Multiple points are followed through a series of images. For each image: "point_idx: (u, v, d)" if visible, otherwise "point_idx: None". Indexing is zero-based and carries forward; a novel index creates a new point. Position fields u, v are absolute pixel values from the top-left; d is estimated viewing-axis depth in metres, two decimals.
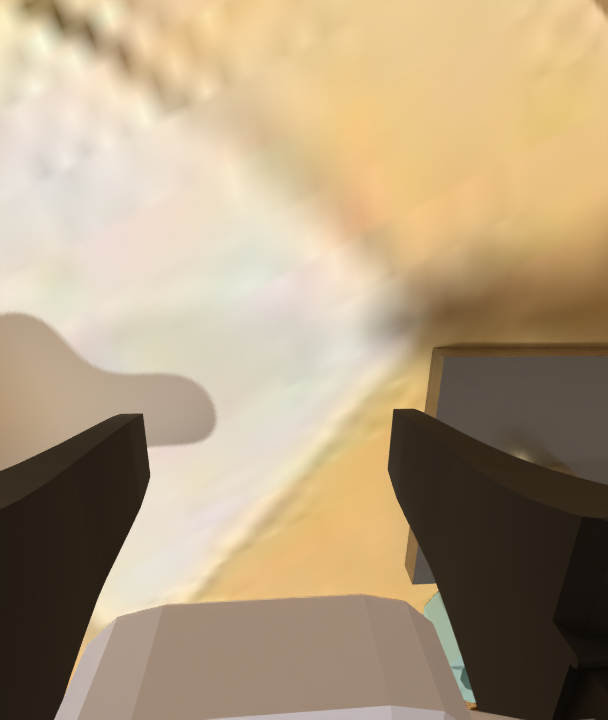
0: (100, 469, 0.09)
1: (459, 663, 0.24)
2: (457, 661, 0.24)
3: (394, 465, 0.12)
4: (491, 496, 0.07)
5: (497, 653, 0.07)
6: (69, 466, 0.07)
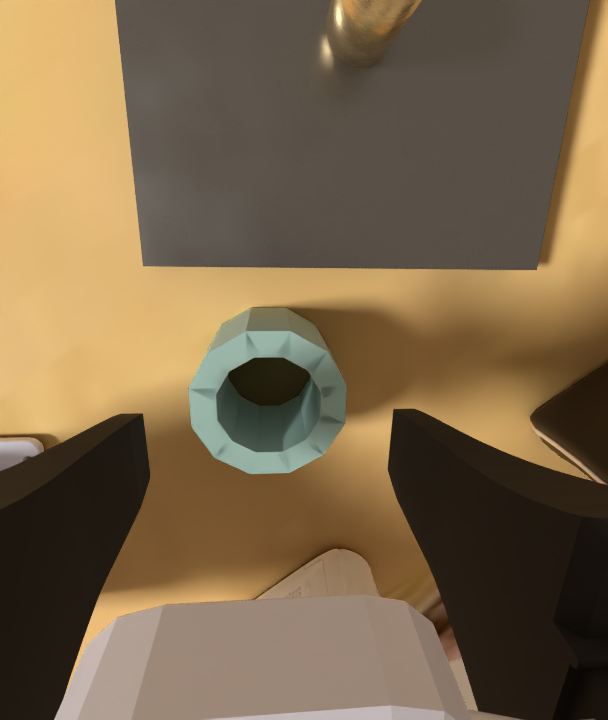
0: (100, 469, 0.09)
1: (207, 382, 0.14)
2: (202, 377, 0.13)
3: (394, 465, 0.12)
4: (491, 496, 0.07)
5: (497, 653, 0.07)
6: (69, 466, 0.07)
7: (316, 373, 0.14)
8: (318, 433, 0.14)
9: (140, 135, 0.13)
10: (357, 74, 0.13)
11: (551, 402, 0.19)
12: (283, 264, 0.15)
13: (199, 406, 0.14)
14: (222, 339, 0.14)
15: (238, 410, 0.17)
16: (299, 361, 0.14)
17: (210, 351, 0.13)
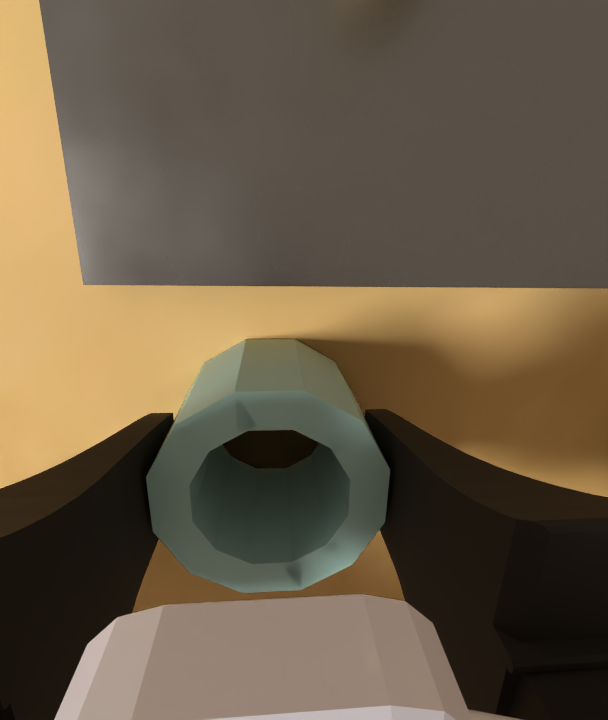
0: (139, 468, 0.09)
1: (175, 467, 0.09)
2: (167, 461, 0.09)
3: None
4: (444, 497, 0.07)
5: (449, 656, 0.07)
6: (114, 465, 0.08)
7: (344, 452, 0.09)
8: (345, 536, 0.10)
9: (69, 82, 0.08)
10: None
11: None
12: (292, 281, 0.10)
13: (164, 502, 0.09)
14: (199, 398, 0.09)
15: (228, 482, 0.12)
16: (318, 435, 0.09)
17: (179, 422, 0.08)
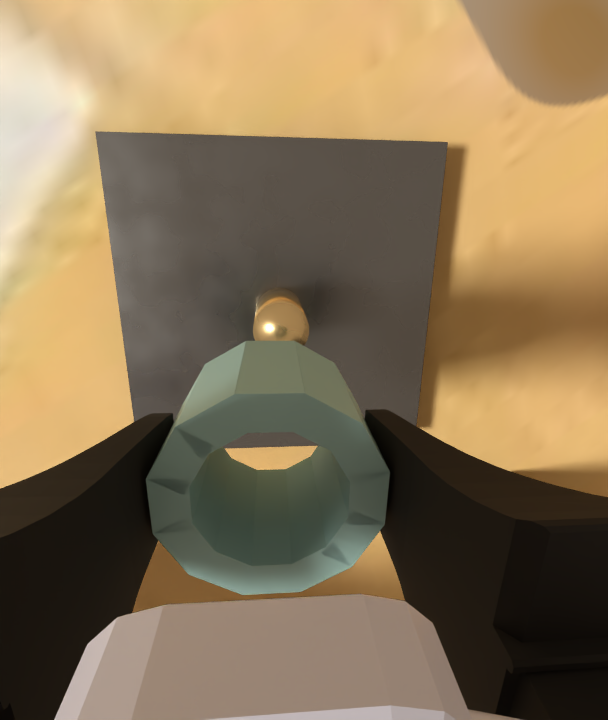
0: (139, 468, 0.09)
1: (175, 469, 0.09)
2: (166, 463, 0.09)
3: None
4: (444, 498, 0.07)
5: (448, 655, 0.07)
6: (114, 465, 0.08)
7: (344, 454, 0.09)
8: (344, 538, 0.10)
9: (135, 376, 0.20)
10: None
11: None
12: (234, 446, 0.22)
13: (163, 504, 0.09)
14: (199, 400, 0.09)
15: (227, 484, 0.12)
16: (318, 437, 0.09)
17: (178, 424, 0.08)
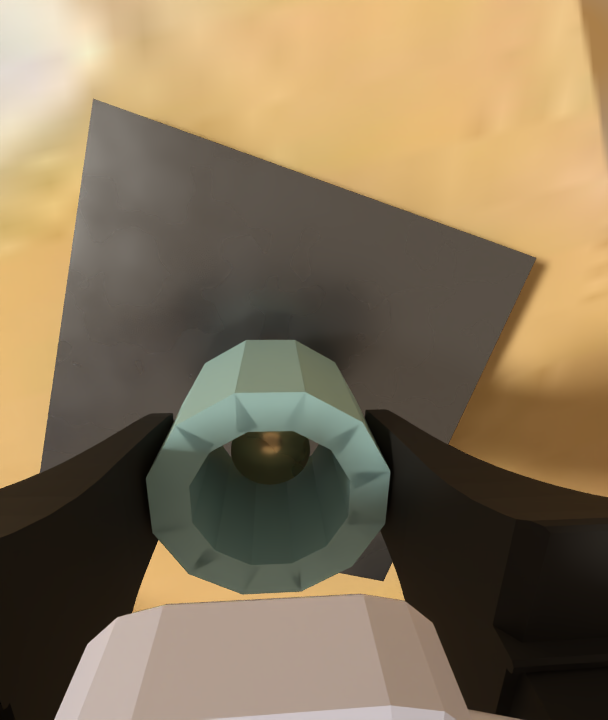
0: (139, 468, 0.09)
1: (175, 468, 0.09)
2: (166, 462, 0.09)
3: None
4: (444, 497, 0.07)
5: (448, 655, 0.07)
6: (114, 465, 0.08)
7: (344, 454, 0.09)
8: (345, 537, 0.10)
9: (57, 424, 0.15)
10: None
11: None
12: None
13: (163, 503, 0.09)
14: (199, 399, 0.09)
15: (227, 484, 0.12)
16: (318, 436, 0.09)
17: (179, 423, 0.08)
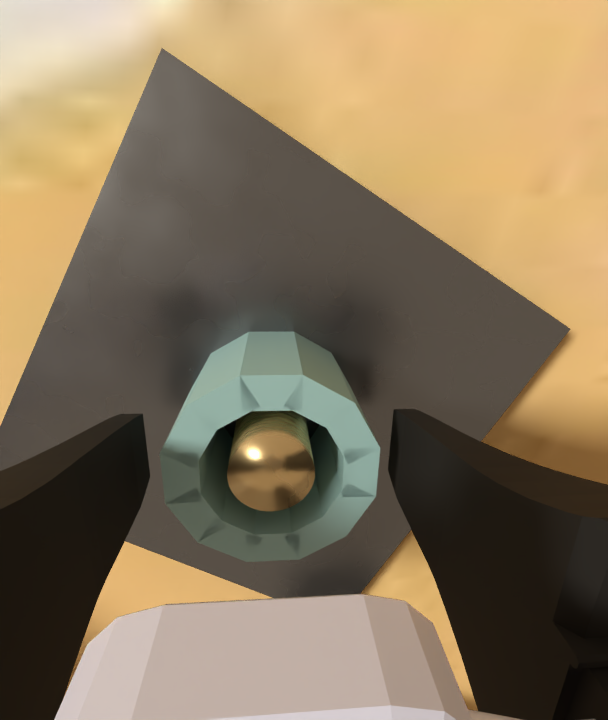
0: (100, 469, 0.09)
1: (186, 444, 0.10)
2: (178, 438, 0.10)
3: (394, 465, 0.12)
4: (491, 496, 0.07)
5: (498, 652, 0.07)
6: (69, 466, 0.07)
7: (338, 431, 0.10)
8: (339, 509, 0.11)
9: (29, 390, 0.13)
10: None
11: None
12: None
13: (175, 476, 0.10)
14: (207, 383, 0.10)
15: None
16: (315, 415, 0.10)
17: (189, 403, 0.09)
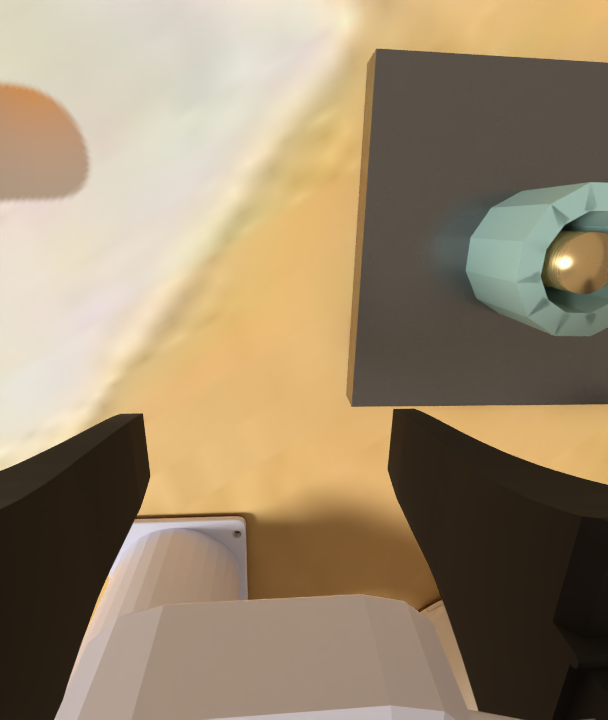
0: (100, 469, 0.09)
1: (530, 268, 0.14)
2: (524, 267, 0.14)
3: (394, 465, 0.12)
4: (491, 496, 0.07)
5: (497, 652, 0.07)
6: (69, 466, 0.07)
7: None
8: None
9: (364, 324, 0.19)
10: None
11: None
12: (450, 403, 0.20)
13: (529, 294, 0.15)
14: (518, 229, 0.15)
15: None
16: (606, 206, 0.14)
17: (524, 239, 0.14)
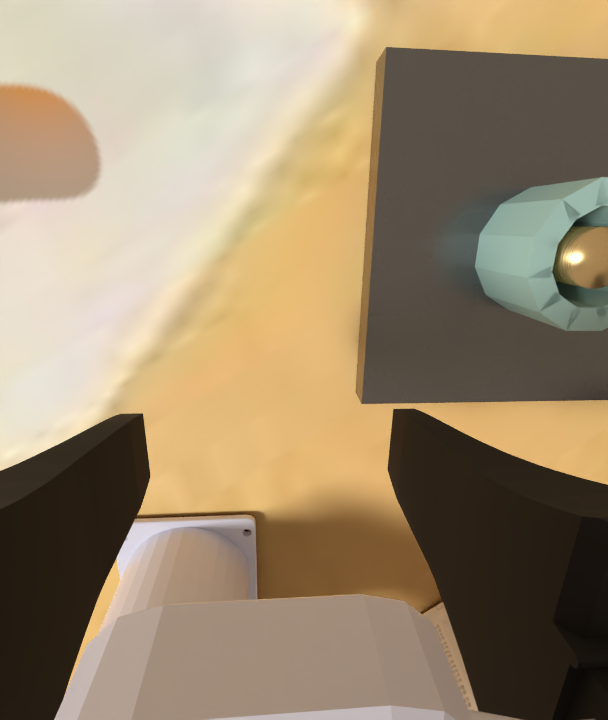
0: (100, 469, 0.09)
1: (541, 263, 0.15)
2: (536, 262, 0.14)
3: (394, 465, 0.12)
4: (492, 496, 0.07)
5: (497, 652, 0.07)
6: (69, 466, 0.07)
7: None
8: None
9: (374, 321, 0.19)
10: None
11: None
12: (459, 400, 0.21)
13: (540, 289, 0.15)
14: (529, 224, 0.15)
15: None
16: None
17: (535, 234, 0.14)
